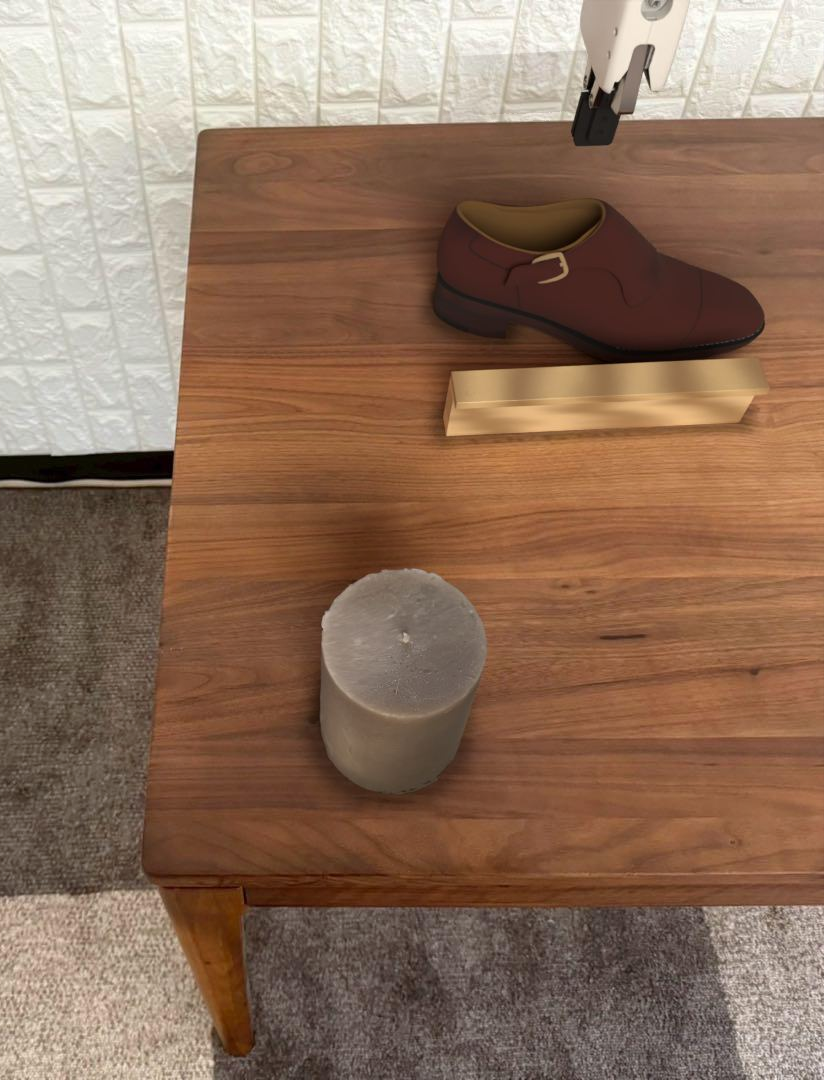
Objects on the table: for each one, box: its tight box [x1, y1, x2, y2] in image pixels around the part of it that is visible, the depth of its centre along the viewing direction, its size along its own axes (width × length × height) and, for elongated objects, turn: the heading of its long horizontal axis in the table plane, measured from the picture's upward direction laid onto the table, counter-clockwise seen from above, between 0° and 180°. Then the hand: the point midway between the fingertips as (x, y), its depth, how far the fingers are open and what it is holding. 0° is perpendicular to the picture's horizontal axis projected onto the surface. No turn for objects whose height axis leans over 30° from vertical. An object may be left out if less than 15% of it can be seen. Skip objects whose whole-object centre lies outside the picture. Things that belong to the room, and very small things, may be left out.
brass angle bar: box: [442, 356, 771, 437], centre depth 80 cm, size 24×3×6 cm, turn 92°
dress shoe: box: [433, 197, 766, 364], centre depth 84 cm, size 9×28×12 cm, turn 80°
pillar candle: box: [319, 567, 488, 795], centre depth 63 cm, size 10×10×15 cm
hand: (590, 139), depth 85 cm, fingers closed
